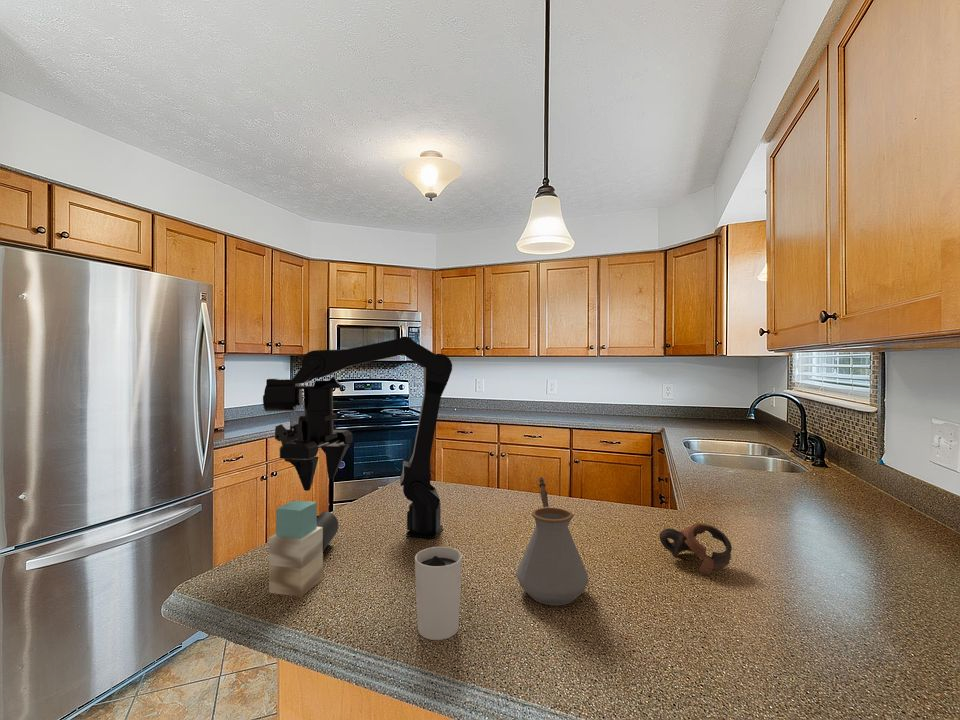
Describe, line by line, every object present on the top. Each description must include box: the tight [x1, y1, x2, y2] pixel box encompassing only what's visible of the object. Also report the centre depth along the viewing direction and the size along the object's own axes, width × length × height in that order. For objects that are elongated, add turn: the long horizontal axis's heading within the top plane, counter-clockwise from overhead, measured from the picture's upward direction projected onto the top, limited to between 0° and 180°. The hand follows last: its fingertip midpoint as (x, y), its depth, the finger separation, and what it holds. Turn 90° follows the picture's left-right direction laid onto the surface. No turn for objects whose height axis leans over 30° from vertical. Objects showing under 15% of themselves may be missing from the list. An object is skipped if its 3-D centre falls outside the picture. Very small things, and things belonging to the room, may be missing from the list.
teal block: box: [275, 499, 318, 538], centre depth 75 cm, size 4×4×4 cm
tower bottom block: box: [268, 553, 324, 598], centre depth 75 cm, size 6×6×4 cm
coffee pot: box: [516, 476, 589, 606], centre depth 77 cm, size 21×12×15 cm, turn 179°
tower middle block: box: [268, 527, 324, 569], centre depth 75 cm, size 6×6×4 cm
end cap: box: [317, 510, 339, 552], centre depth 87 cm, size 10×7×7 cm
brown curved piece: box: [658, 522, 733, 576], centre depth 83 cm, size 12×10×8 cm
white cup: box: [414, 546, 463, 641], centre depth 63 cm, size 7×7×10 cm
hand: (319, 484), depth 94 cm, fingers open, 9 cm apart
